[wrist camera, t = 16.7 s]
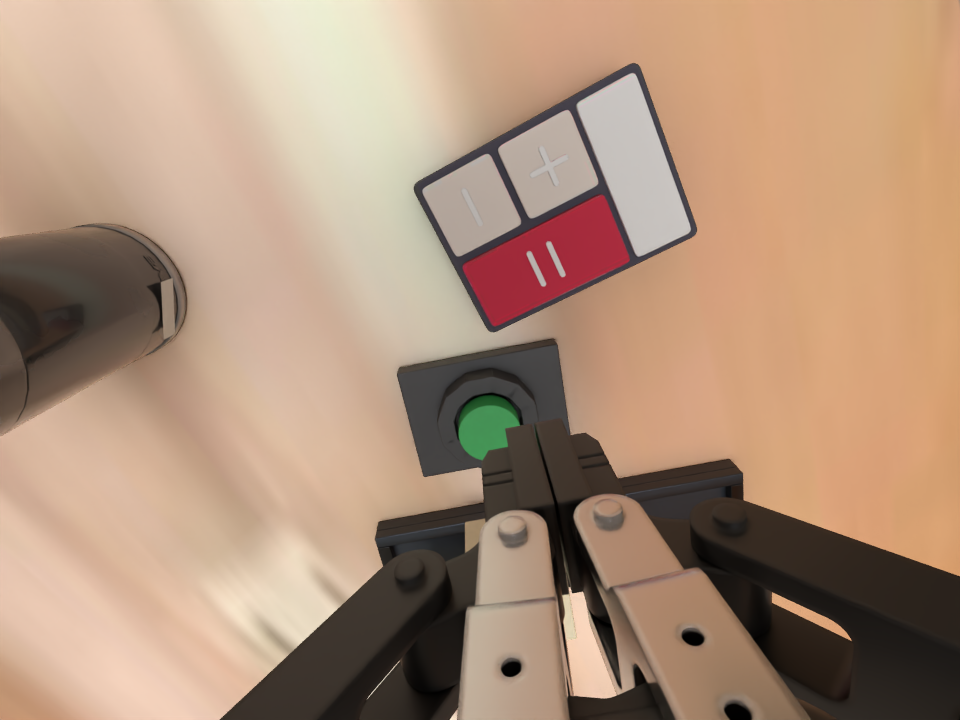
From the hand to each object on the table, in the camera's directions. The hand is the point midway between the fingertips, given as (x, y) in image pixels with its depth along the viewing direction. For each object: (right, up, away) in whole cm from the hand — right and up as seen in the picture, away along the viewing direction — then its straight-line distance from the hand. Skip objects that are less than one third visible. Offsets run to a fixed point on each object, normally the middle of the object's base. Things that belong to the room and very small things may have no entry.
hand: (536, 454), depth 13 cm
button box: (-1, -1, +27) cm, 27 cm away
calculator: (+3, +13, +22) cm, 26 cm away
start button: (-1, -2, +24) cm, 24 cm away
